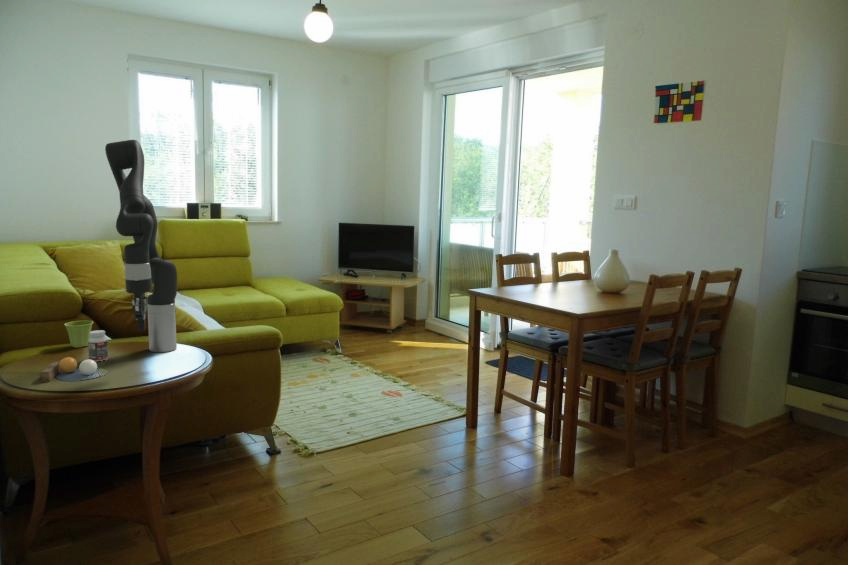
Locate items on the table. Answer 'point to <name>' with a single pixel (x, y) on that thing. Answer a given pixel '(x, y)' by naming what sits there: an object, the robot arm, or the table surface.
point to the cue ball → (88, 367)
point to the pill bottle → (98, 346)
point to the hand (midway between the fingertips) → (141, 330)
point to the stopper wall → (50, 372)
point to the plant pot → (79, 332)
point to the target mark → (77, 376)
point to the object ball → (68, 365)
